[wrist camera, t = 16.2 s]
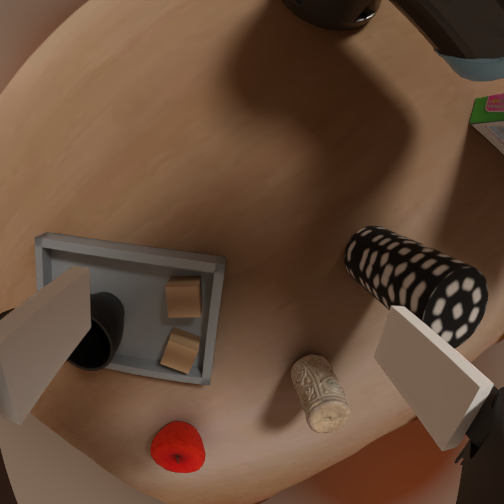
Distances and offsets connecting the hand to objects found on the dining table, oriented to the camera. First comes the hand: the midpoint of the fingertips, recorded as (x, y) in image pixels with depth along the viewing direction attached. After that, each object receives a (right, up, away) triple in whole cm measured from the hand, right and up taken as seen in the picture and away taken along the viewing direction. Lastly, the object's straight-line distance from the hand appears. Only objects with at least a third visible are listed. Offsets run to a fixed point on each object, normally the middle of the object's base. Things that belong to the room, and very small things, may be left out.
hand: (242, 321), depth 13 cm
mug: (-21, -4, +28) cm, 36 cm away
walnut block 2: (-9, -10, +31) cm, 34 cm away
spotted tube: (+17, +2, +31) cm, 35 cm away
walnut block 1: (-8, -2, +29) cm, 30 cm away
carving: (+9, -15, +34) cm, 39 cm away
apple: (-12, -28, +36) cm, 47 cm away
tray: (-17, -5, +30) cm, 34 cm away
